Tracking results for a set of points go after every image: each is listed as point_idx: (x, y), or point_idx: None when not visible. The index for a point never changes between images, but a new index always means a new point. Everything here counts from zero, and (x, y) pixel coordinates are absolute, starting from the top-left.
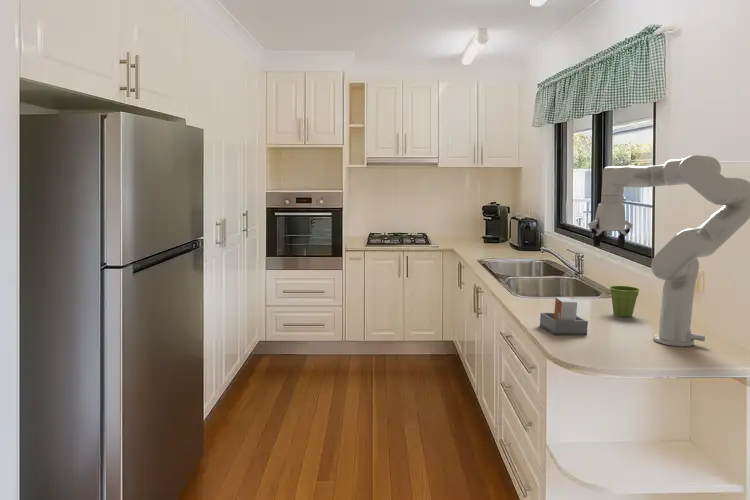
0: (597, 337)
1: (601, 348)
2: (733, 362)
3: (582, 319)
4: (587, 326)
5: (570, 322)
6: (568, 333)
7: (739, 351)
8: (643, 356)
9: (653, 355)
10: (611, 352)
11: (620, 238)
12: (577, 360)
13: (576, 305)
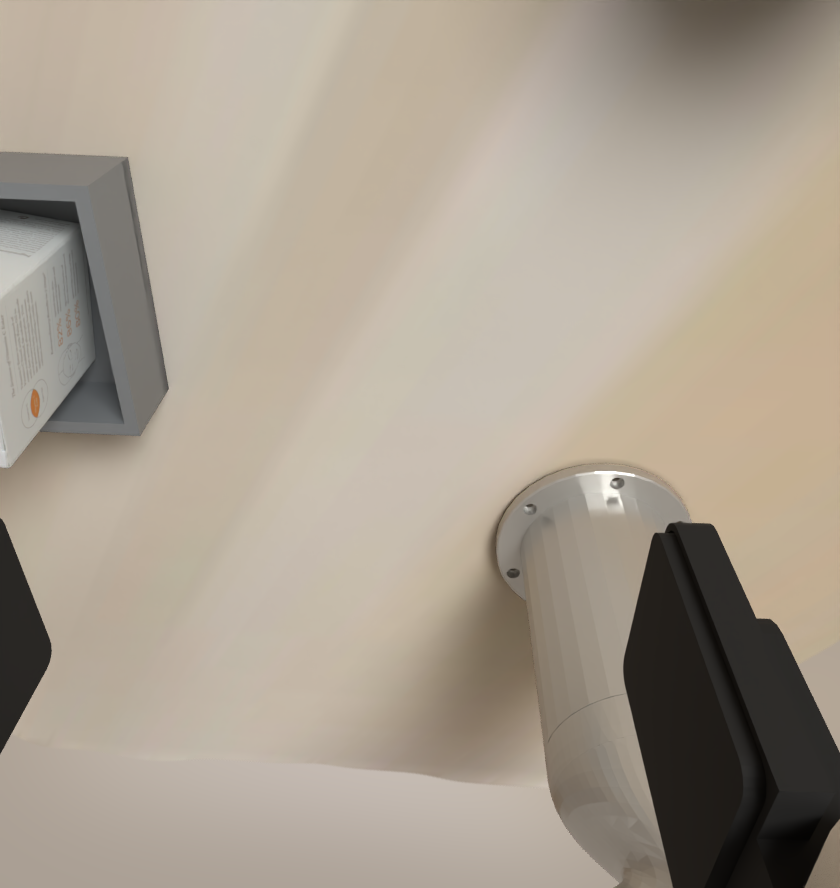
0: (213, 436)
1: (156, 590)
2: None
3: (118, 389)
4: (151, 416)
5: None
6: None
7: None
8: (292, 680)
9: (343, 674)
10: (179, 634)
11: (685, 800)
12: None
13: (16, 454)
